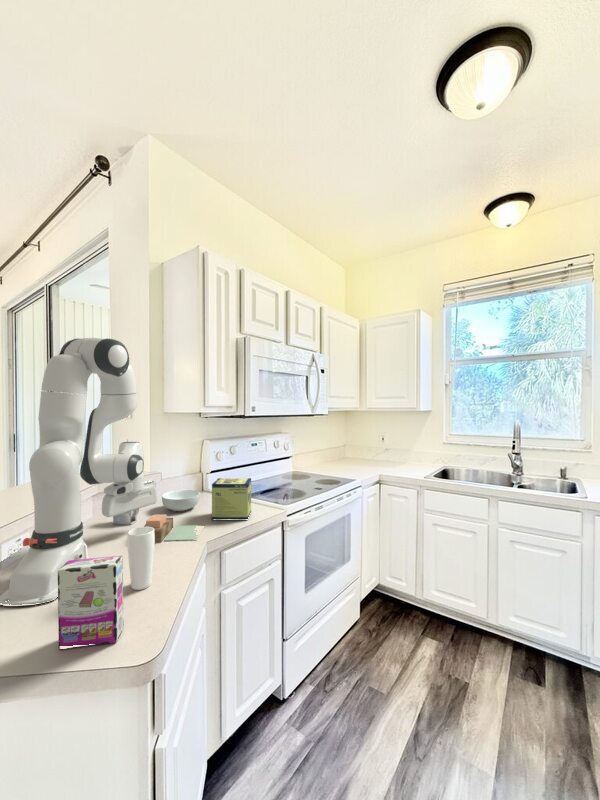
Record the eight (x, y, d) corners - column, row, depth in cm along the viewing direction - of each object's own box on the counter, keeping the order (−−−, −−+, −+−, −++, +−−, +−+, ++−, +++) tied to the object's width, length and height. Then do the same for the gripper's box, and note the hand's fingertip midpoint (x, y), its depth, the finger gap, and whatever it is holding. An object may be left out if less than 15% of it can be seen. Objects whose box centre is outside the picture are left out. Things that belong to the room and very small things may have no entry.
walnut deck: (161, 542, 123) (161, 531, 123) (138, 543, 123) (137, 531, 123) (173, 527, 137) (173, 517, 137) (152, 528, 137) (152, 518, 137)
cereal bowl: (184, 516, 150) (184, 500, 150) (153, 512, 156) (153, 497, 156) (207, 505, 167) (207, 490, 167) (178, 502, 172) (178, 488, 172)
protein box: (248, 520, 145) (248, 483, 145) (211, 520, 145) (211, 483, 145) (251, 512, 156) (251, 477, 156) (217, 512, 156) (217, 477, 156)
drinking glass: (147, 576, 100) (147, 524, 100) (159, 584, 95) (159, 529, 95) (123, 586, 94) (122, 531, 94) (134, 595, 90) (134, 537, 90)
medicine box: (137, 521, 145) (137, 500, 145) (131, 525, 141) (131, 503, 141) (119, 520, 146) (119, 500, 146) (112, 524, 141) (112, 503, 141)
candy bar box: (124, 628, 77) (124, 554, 77) (116, 643, 72) (116, 564, 72) (68, 634, 75) (68, 558, 75) (57, 651, 70) (56, 570, 70)
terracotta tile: (160, 527, 127) (160, 520, 127) (146, 527, 127) (146, 521, 127) (166, 520, 134) (166, 514, 134) (153, 521, 134) (153, 514, 134)
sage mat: (196, 540, 125) (196, 539, 125) (164, 541, 125) (164, 540, 125) (205, 526, 139) (205, 525, 139) (175, 526, 138) (175, 525, 138)
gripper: (150, 478, 140) (150, 512, 140) (99, 489, 123) (99, 529, 123) (160, 480, 137) (160, 515, 137) (109, 492, 119) (109, 532, 119)
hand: (131, 521), depth 130 cm, fingers closed
